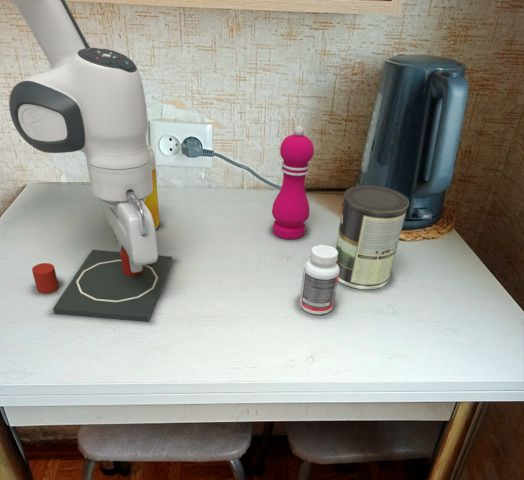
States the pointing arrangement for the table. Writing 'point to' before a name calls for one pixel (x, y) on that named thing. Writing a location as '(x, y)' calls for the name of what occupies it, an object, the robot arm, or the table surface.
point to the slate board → (113, 288)
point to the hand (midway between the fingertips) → (131, 262)
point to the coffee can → (369, 235)
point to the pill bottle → (320, 280)
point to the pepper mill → (293, 186)
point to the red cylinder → (127, 264)
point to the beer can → (153, 192)
